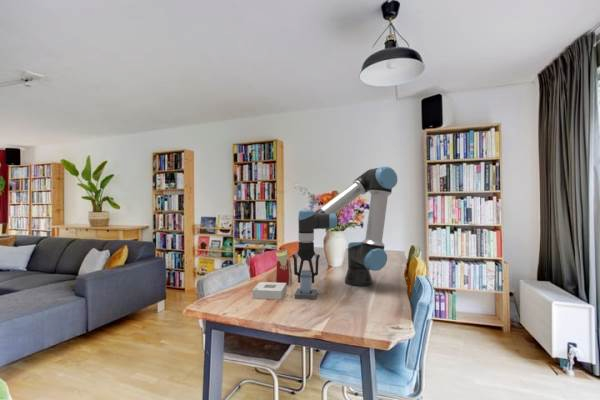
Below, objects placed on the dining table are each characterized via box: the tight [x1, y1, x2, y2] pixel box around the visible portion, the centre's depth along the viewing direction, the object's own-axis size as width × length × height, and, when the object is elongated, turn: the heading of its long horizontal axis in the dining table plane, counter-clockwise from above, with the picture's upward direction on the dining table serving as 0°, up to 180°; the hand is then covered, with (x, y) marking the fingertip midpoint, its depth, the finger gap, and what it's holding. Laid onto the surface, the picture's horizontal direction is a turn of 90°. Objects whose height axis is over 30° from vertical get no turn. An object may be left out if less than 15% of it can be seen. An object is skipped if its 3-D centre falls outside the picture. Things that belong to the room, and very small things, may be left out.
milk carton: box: [274, 247, 293, 287], centre depth 164 cm, size 9×9×20 cm
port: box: [251, 281, 287, 301], centre depth 146 cm, size 14×14×4 cm
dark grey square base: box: [294, 287, 318, 301], centre depth 143 cm, size 10×10×2 cm
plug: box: [301, 269, 312, 294], centre depth 143 cm, size 4×4×12 cm
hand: (306, 289), depth 143 cm, fingers closed on plug, 4 cm apart
